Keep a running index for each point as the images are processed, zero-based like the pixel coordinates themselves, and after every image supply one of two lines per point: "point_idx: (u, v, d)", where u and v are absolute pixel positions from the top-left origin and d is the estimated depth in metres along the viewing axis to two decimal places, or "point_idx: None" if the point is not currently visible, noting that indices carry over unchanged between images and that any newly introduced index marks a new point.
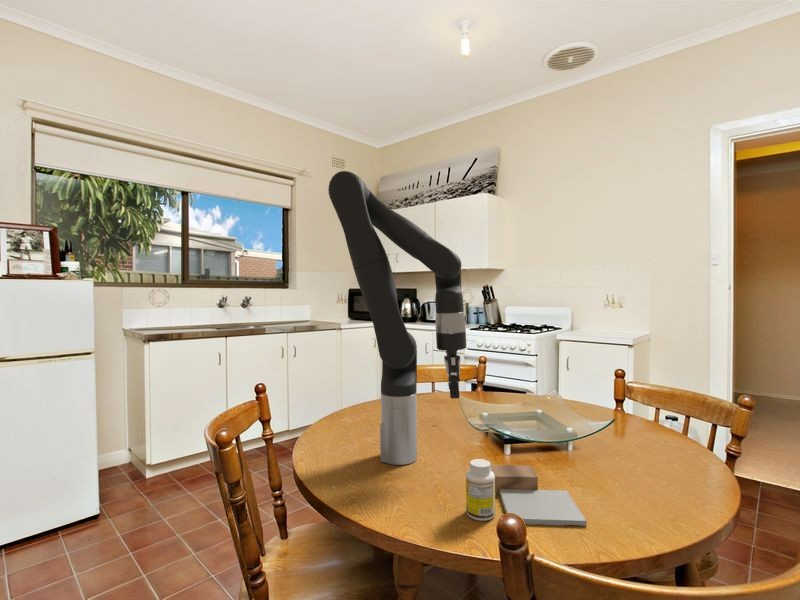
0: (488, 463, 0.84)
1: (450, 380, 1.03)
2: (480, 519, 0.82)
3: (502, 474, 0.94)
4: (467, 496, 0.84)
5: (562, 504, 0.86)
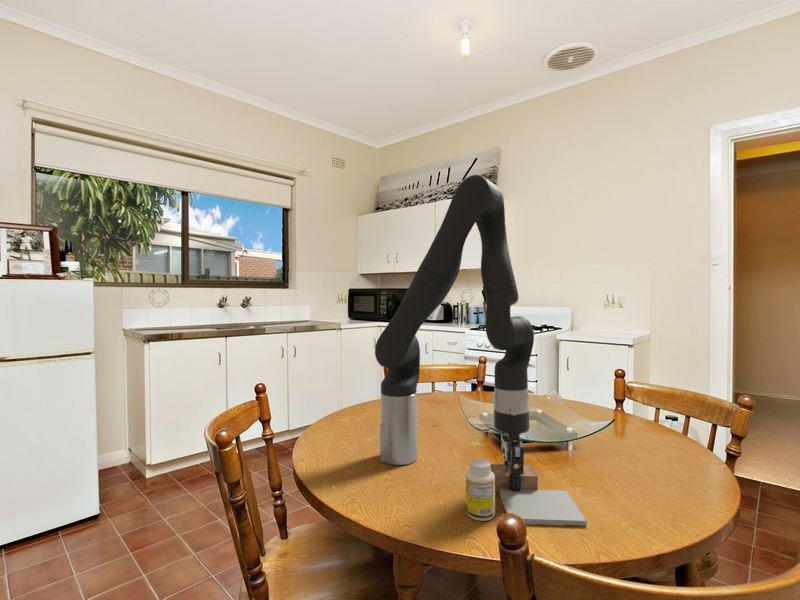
0: (488, 463, 0.84)
1: (512, 472, 0.89)
2: (480, 519, 0.82)
3: (502, 473, 0.94)
4: (467, 496, 0.84)
5: (562, 504, 0.86)
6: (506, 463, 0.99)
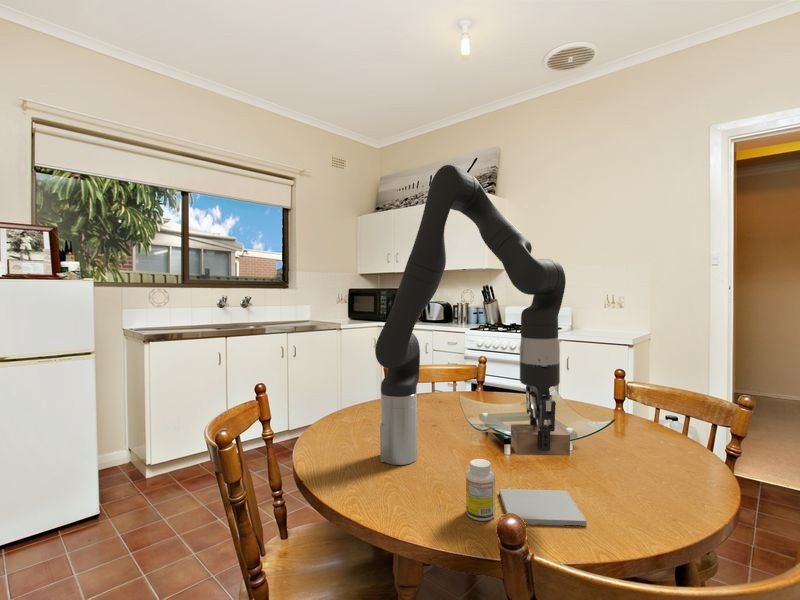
0: (488, 463, 0.84)
1: (542, 429, 0.80)
2: (480, 519, 0.82)
3: (530, 432, 0.84)
4: (467, 496, 0.84)
5: (562, 504, 0.86)
6: (532, 423, 0.89)
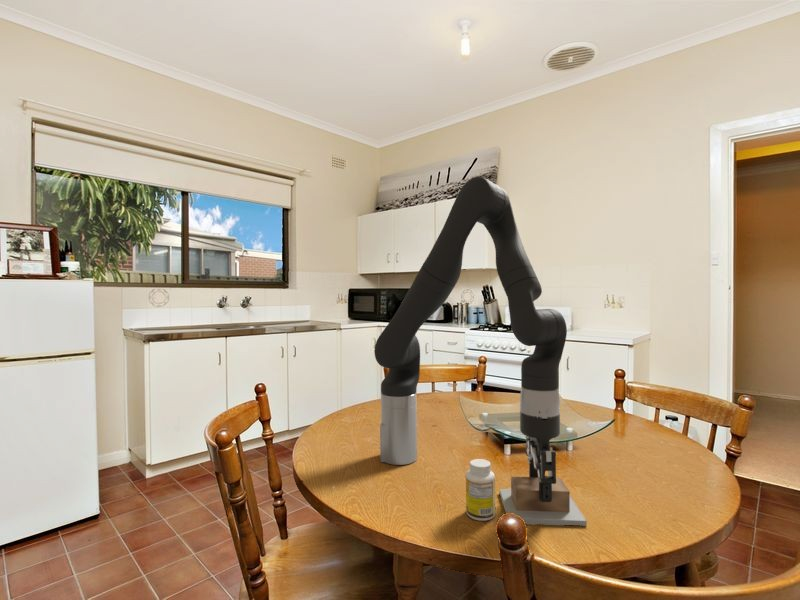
0: (488, 463, 0.84)
1: (544, 481, 0.79)
2: (480, 519, 0.82)
3: (530, 488, 0.84)
4: (467, 496, 0.84)
5: None
6: (531, 466, 0.90)
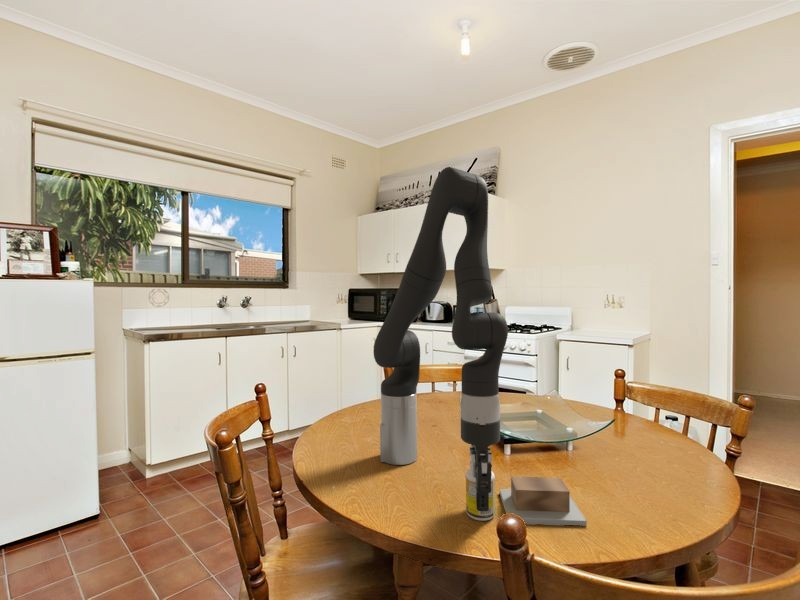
0: None
1: (478, 490, 0.78)
2: (480, 519, 0.82)
3: (530, 488, 0.84)
4: (467, 496, 0.84)
5: None
6: None
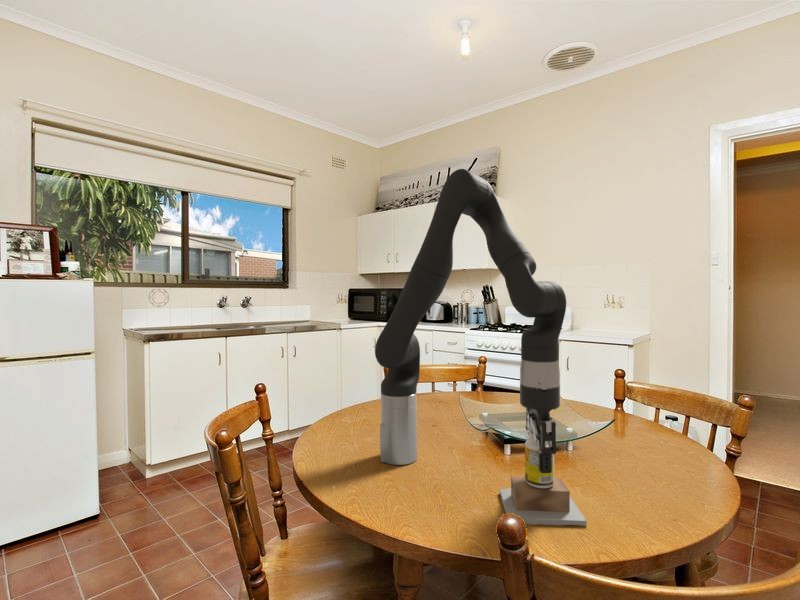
0: None
1: (544, 451, 0.79)
2: (541, 487, 0.84)
3: (530, 488, 0.84)
4: (527, 465, 0.86)
5: None
6: None
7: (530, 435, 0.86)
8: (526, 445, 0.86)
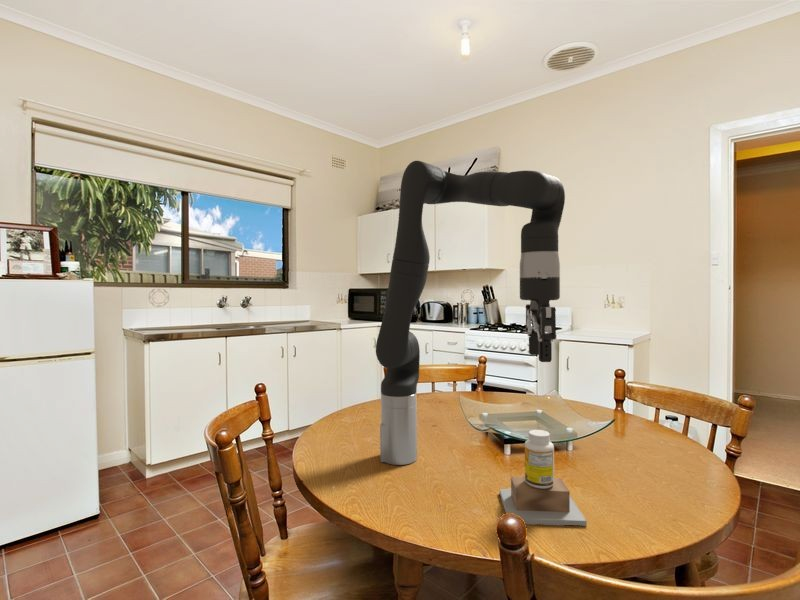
0: (547, 433, 0.86)
1: (543, 337, 0.79)
2: (541, 487, 0.84)
3: (530, 488, 0.84)
4: (527, 465, 0.86)
5: None
6: (531, 339, 0.90)
7: (530, 435, 0.86)
8: (526, 445, 0.86)
